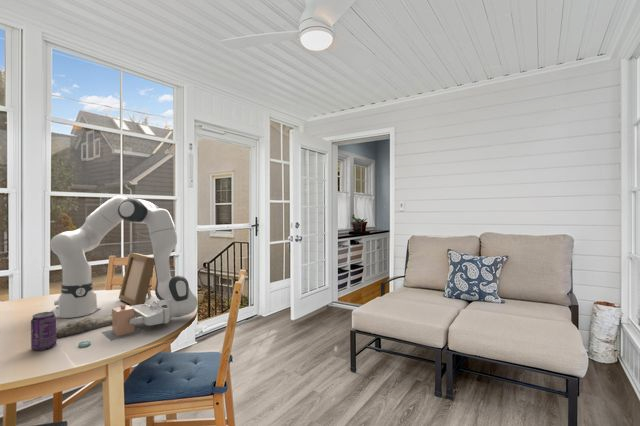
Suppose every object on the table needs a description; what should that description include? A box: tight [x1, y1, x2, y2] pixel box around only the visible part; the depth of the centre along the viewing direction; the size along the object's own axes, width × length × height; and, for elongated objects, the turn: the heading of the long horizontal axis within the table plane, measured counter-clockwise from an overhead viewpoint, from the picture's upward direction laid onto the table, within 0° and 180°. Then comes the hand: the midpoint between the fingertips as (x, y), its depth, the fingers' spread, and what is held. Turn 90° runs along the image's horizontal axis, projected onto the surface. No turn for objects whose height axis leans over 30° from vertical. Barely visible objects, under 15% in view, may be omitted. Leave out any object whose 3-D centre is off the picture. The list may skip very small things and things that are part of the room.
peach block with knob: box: [111, 304, 135, 336], centre depth 137 cm, size 6×6×11 cm
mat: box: [101, 324, 145, 342], centre depth 138 cm, size 12×12×1 cm
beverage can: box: [30, 311, 57, 351], centre depth 124 cm, size 7×7×12 cm
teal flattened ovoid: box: [78, 340, 92, 348], centre depth 124 cm, size 4×4×2 cm
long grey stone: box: [56, 314, 112, 339], centre depth 144 cm, size 35×5×10 cm
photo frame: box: [118, 252, 155, 306], centre depth 182 cm, size 15×22×25 cm
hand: (124, 318), depth 138 cm, fingers open, 8 cm apart
